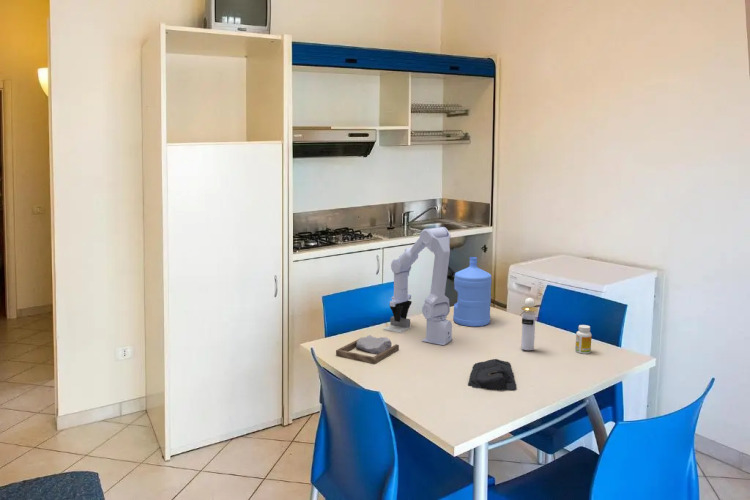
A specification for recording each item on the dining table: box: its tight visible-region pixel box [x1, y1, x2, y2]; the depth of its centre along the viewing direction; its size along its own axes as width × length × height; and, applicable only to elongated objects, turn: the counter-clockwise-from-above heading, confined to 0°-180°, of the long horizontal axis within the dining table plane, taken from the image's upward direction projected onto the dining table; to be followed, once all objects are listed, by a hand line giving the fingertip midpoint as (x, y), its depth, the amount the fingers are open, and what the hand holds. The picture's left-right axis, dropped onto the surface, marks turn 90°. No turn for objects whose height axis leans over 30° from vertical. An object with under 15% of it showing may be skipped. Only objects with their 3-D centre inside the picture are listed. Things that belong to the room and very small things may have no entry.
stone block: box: [356, 335, 393, 355], centre depth 237 cm, size 12×5×10 cm
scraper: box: [382, 315, 411, 334], centre depth 261 cm, size 8×8×4 cm
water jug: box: [452, 256, 493, 328], centre depth 269 cm, size 16×16×28 cm
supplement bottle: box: [575, 324, 593, 355], centre depth 233 cm, size 5×5×10 cm
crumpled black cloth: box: [467, 358, 517, 392], centre depth 209 cm, size 15×22×5 cm
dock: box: [335, 337, 400, 365], centre depth 232 cm, size 16×17×2 cm
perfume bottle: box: [520, 297, 538, 351], centre depth 234 cm, size 6×6×20 cm
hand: (400, 319), depth 263 cm, fingers open, 5 cm apart
